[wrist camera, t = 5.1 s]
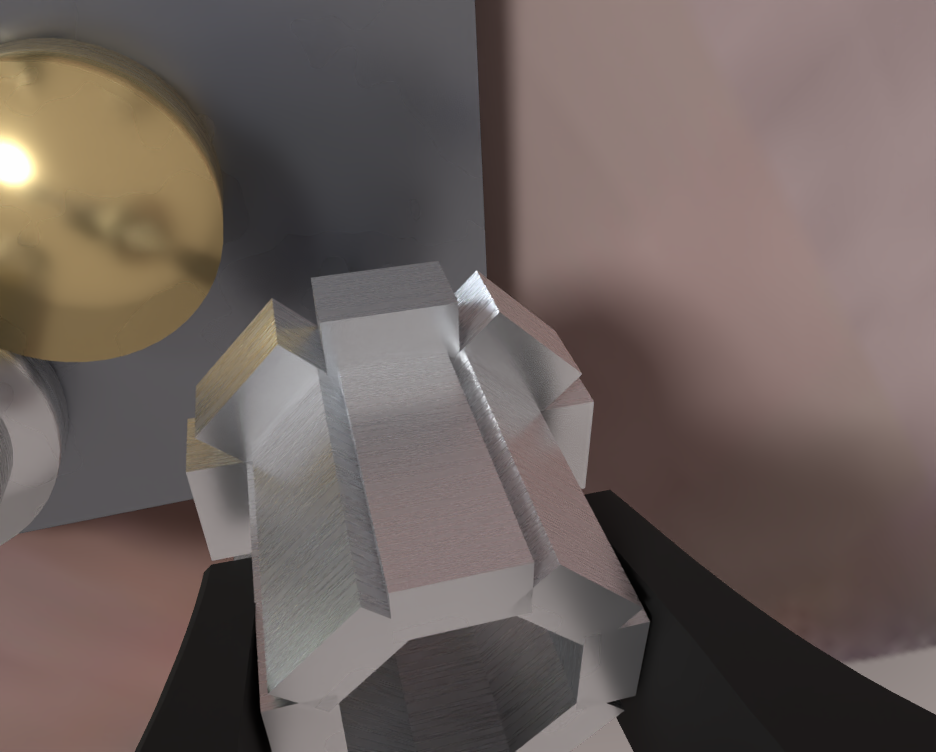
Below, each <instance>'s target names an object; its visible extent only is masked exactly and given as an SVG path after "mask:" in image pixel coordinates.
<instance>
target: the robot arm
mask: <svg viewBox="0 0 936 752" xmlns="http://www.w3.org/2000/svg"><path fill="white" fill-rule="evenodd" d="M584 496H585V498H586V499H587V501H588V503H589V505H590V507H591V509H592V511H593V513H594V515H595V517H596V519H597V520H598V522H599V524H600V526H601V528H602V530H603V532H604V534H605V536H606V538H607V539H608V541H609V543H610V545H611V547H612V549H613V551H614V553H615V555H616V557H617V558H618V560H619V562H620V564H621V566H622V568H623V570H624V572H625V574H626V576H627V578H628V579H629V581H630V583H631V585H632V587H633V589H634V591H635V593H636V595H637V597H638V598H639V600H640V602H641V604H642V606H643V609H644V611H645V613H646V615H647V617H648V619H649V620H650V625H649V630H648V635H647V640H646V645H645V650H644V655H643V660H642V665H641V671H640V676H639V681H638V686H637V691H636V696H632V697H628V698H624V699H620V701H621V703H622V706H623V708H624V710H625V711H623V712H622V713H621V714H619V715H618V716H617V719H618V722H619V724H620V726H621V728H622V730H623V731H624V734H625V735H626V738H627V739H628V741H629V743H630V745H631V747H632V749H633V751H634V752H936V715H935V714H933V713H931V712H929V711H928V710H926V709H923V708H922V707H920V706H918V705H916V704H914V703H912V702H910V701H908V700H906V699H905V698H903V697H900V696H899V695H897V694H895V693H893V692H891V691H889V690H888V689H886V688H884V687H882V686H881V685H879V684H877V683H875V682H873V681H871V680H870V679H868V678H866V677H864V676H863V675H861V674H859V673H857V672H856V671H854V670H853V669H851V668H849V667H848V666H846V665H844V664H843V663H841V662H840V661H838V660H836V659H835V658H833V657H831V656H830V655H828V654H826V653H825V652H823V651H821V650H820V649H818V648H816V647H815V646H813V645H812V644H810V643H809V642H807V641H805V640H804V639H802V638H801V637H799V636H798V635H796V634H795V633H793V632H792V631H790V630H789V629H787V628H786V627H784V626H783V625H781V624H780V623H779V622H777V621H776V620H774V619H773V618H771V617H770V616H769V615H767V614H766V613H764V612H763V611H761V610H760V609H758V608H757V607H756V606H754V605H753V604H752V603H750V602H749V601H747V600H746V599H745V598H743V597H742V596H741V595H739V594H738V593H737V592H735V591H734V590H733V589H731V588H730V587H729V586H727V585H726V584H725V583H724V582H722V581H721V580H720V579H718V578H717V577H716V576H715V575H713V574H712V573H711V572H709V571H708V570H707V569H706V568H704V567H703V566H702V565H700V564H699V563H698V562H697V561H695V560H694V559H693V558H692V557H690V556H689V555H688V554H687V553H685V552H684V551H683V550H682V549H681V548H679V547H678V546H677V545H676V544H674V543H673V542H672V541H671V540H670V539H668V538H667V537H666V536H665V535H664V534H662V533H661V532H660V531H659V530H658V529H656V528H655V527H654V526H653V525H652V524H650V523H649V522H648V521H647V520H646V519H645V518H643V517H642V516H641V515H640V514H639V513H637V512H636V511H635V510H634V509H633V508H631V507H630V506H629V505H628V504H627V503H626V502H624V501H623V500H622V499H621V498H619V497H618V496H617V495H616V494H615V493H613V492H612V491H611V490H607V491H602V492H596V493H591V494H586V495H584ZM255 608H256V603H255V602H254V584H253V566H252V557H250V558H245V559H240V560H234V561H229V562H224V563H218V564H213V565H211V566H210V567H209V568H208V569H207V570H206V571H205V572H204V575H203V579H202V583H201V587H200V590H199V594H198V597H197V600H196V604H195V607H194V610H193V613H192V616H191V619H190V622H189V625H188V628H187V631H186V633H185V636H184V639H183V641H182V644H181V647H180V650H179V652H178V655H177V657H176V660H175V662H174V665H173V667H172V670H171V672H170V674H169V677H168V679H167V682H166V684H165V686H164V689H163V691H162V694H161V696H160V698H159V701H158V703H157V706H156V708H155V710H154V712H153V715H152V717H151V719H150V721H149V723H148V725H147V727H146V729H145V731H144V734H143V736H142V738H141V740H140V742H139V744H138V746H137V748H136V750H135V752H272V750H271V746H270V743H269V739H268V736H267V732H266V729H265V725H264V722H263V719H262V715H261V709H260V691H259V674H258V656H257V638H256V620H255Z"/></svg>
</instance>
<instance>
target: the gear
mask: <svg viewBox="0 0 936 752" xmlns="http://www.w3.org/2000/svg"><path fill="white" fill-rule="evenodd" d="M311 283H312V290H313V297H314V304H315V311H316V318H317V325H318V326H317V325H315V324H313V323H312V322H310V321H308V320H307V319H305V318H304V317H302V316H300V315H299V314H297V313H296V312H294V311H292V310H291V309H289V308H287V307H286V306H284V305H283V304H281V303H279V302H278V301H276V300H275V299H273V298H271V300H270V301H269V302H268V303H267V304H266V305H265V307H264V308H263V309H262V310H261V311H260V312H259V313H258V315H257V316H256V317H255V318H254V319H253V320H252V322H251V323H250V324H249V325H248V326H247V327H246V329H245V330H244V331H243V332H242V333H241V334H240V336H239V337H238V338H237V339H236V340H235V341H234V342H233V344H232V345H231V346H230V347H229V348H228V349H227V351H226V352H225V353H224V354H223V355H222V356H221V358H220V359H219V360H218V361H217V362H216V363H215V365H214V366H213V367H212V368H211V369H210V370H209V371H208V373H207V374H206V375H205V376H204V377H203V378H202V380H201V381H200V382H199V383H198V384H197V385H196V403H195V418H190V419H188V422H187V452H186V475H187V478H188V481H189V485H190V488H191V491H192V495H193V498H194V502H195V505H196V508H197V512H198V515H199V519H200V522H201V525H202V529H203V532H204V535H205V539H206V542H207V546H208V549H209V552H210V556H211V559H212V561H213V560H219V559H224V558H229V557H234V560H240V559H245V558H250V557H252V566H253V584H254V602H255V603H256V608H255V620H256V638H257V656H258V674H259V691H260V709H261V715H262V719H263V722H264V725H265V729H266V732H267V736H268V739H269V743H270V746H271V750H272V752H571V751H573V750H574V749H575V748H576V747H578V746H579V745H580V744H582V743H583V742H584V741H586V740H587V739H588V738H589V737H591V736H592V735H593V734H595V733H596V732H597V731H599V730H600V729H601V728H602V727H604V726H605V725H606V724H608V723H609V722H610V721H612V720H613V719H614V718H615V717H617V716H618V715H619V714H621V713H622V712H623V711H625V710H624V708H623V706H622V703H621V701H620V699H624V698H628V697H632V696H636V691H637V686H638V681H639V676H640V671H641V665H642V660H643V655H644V650H645V645H646V640H647V635H648V630H649V625H650V620H649V619H648V617H647V615H646V613H645V611H644V609H643V606H642V604H641V602H640V600H639V598H638V597H637V595H636V593H635V591H634V589H633V587H632V585H631V583H630V581H629V579H628V578H627V576H626V574H625V572H624V570H623V568H622V566H621V564H620V562H619V560H618V558H617V557H616V555H615V553H614V551H613V549H612V547H611V545H610V543H609V541H608V539H607V538H606V536H605V534H604V532H603V530H602V528H601V526H600V524H599V522H598V520H597V519H596V517H595V515H594V513H593V511H592V509H591V507H590V505H589V503H588V501H587V499H586V498H585V496H584V494H583V492H582V490H581V489H583V488H585V484H586V475H587V465H588V455H589V446H590V436H591V427H592V417H593V407H594V401H593V399H592V397H591V396H590V394H589V393H588V391H587V389H586V388H585V386H584V385H583V383H582V381H581V380H580V378H579V377H580V376H581V375H582V373H581V371H580V370H579V368H578V366H577V365H576V363H575V362H574V360H573V358H572V357H571V355H570V354H569V352H568V350H567V349H566V347H565V346H564V344H563V342H562V341H561V339H560V338H559V336H558V335H557V333H556V331H555V330H553V329H552V328H551V327H549V326H548V325H547V324H546V323H544V322H543V321H542V320H540V319H539V318H538V317H537V316H535V315H534V314H533V313H531V312H530V311H529V310H528V309H526V308H525V307H524V306H522V305H521V304H520V303H518V302H517V301H516V300H515V299H513V298H512V297H511V296H509V295H508V294H507V293H506V292H504V291H503V290H502V289H500V288H499V287H498V286H496V285H495V284H494V283H493V282H491V281H490V280H489V279H487V278H486V277H485V276H484V275H482V274H481V273H480V272H478V271H477V270H476V271H475V272H474V273H473V274H472V276H471V277H470V278H469V279H468V280H467V281H466V282H465V283H464V284H463V285H462V286H461V287H460V288H459V289H458V290H457V291H456V292H455V293H454V292H453V290H452V288H451V286H450V284H449V282H448V280H447V278H446V276H445V274H444V272H443V269H442V267H441V265H440V263H439V261H434V262H426V263H419V264H411V265H404V266H396V267H388V268H381V269H373V270H366V271H358V272H351V273H343V274H335V275H328V276H320V277H313V278H311Z"/></svg>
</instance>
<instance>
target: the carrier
mask: <svg viewBox="0 0 936 752" xmlns="http://www.w3.org/2000/svg"><path fill="white" fill-rule="evenodd" d="M434 261H439V263H440V265H441V267H442V269H443V272H444V274H445V276H446V278H447V280H448V282H449V284H450V286H451V288H452V290H453V292H454V293H455V292H456V291H457V290H458V289H459V288H460V287H461V286H462V285H463V284H464V283H465V282H466V281H467V280H468V279H469V278H470V277H471V276H472V274H473V273H474V272H475V271H476V270H477V271H478V272H480V273H481V274H482V275H484V276H485V277H486V278H487V268H486V245H485V223H484V200H483V177H482V154H481V131H480V108H479V85H478V63H477V40H476V17H475V0H0V349H3V350H6V351H9V352H13V353H16V354H19V355H22V356H27V357H32V358H37V359H42V360H47V361H48V362H49V364H50V365H51V367H52V368H53V370H54V371H55V373H56V375H57V378H58V380H59V382H60V384H61V386H62V389H63V392H64V396H65V399H66V402H67V410H68V418H69V420H68V435H67V440H66V444H65V449H64V452H63V456H62V460H61V463H60V467H59V471H58V474H57V478H56V482H55V485H54V487H53V489H52V492H51V494H50V497H49V499H48V500H47V502H46V503H45V505H44V507H43V508H42V510H41V511H40V513H39V514H38V515H37V516H36V517H35V518H34V519H33V521H32V522H31V523H30V524H29V525H28V526H27V527H25V528H24V529H23V530H22V531H21V532H20V533H24V532H29V531H34V530H39V529H44V528H49V527H54V526H59V525H64V524H69V523H74V522H79V521H85V520H90V519H95V518H100V517H105V516H110V515H115V514H120V513H125V512H130V511H135V510H140V509H145V508H150V507H155V506H160V505H165V504H170V503H175V502H180V501H185V500H190V499H194V498H193V495H192V491H191V488H190V485H189V481H188V478H187V475H186V452H187V422H188V419H190V418H195V403H196V385H197V384H198V383H199V382H200V381H201V380H202V378H203V377H204V376H205V375H206V374H207V373H208V371H209V370H210V369H211V368H212V367H213V366H214V365H215V363H216V362H217V361H218V360H219V359H220V358H221V356H222V355H223V354H224V353H225V352H226V351H227V349H228V348H229V347H230V346H231V345H232V344H233V342H234V341H235V340H236V339H237V338H238V337H239V336H240V334H241V333H242V332H243V331H244V330H245V329H246V327H247V326H248V325H249V324H250V323H251V322H252V320H253V319H254V318H255V317H256V316H257V315H258V313H259V312H260V311H261V310H262V309H263V308H264V307H265V305H266V304H267V303H268V302H269V301H270V300H271V298H273V299H275V300H276V301H278V302H279V303H281V304H283V305H284V306H286V307H287V308H289V309H291V310H292V311H294V312H296V313H297V314H299V315H300V316H302V317H304V318H305V319H307V320H308V321H310V322H312V323H313V324H315V325H317V318H316V311H315V304H314V297H313V290H312V283H311V278H313V277H320V276H328V275H335V274H343V273H351V272H358V271H366V270H373V269H381V268H388V267H396V266H404V265H411V264H419V263H426V262H434ZM317 326H318V325H317ZM18 534H19V533H18Z"/></svg>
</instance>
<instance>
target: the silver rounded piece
mask: <svg viewBox="0 0 936 752" xmlns="http://www.w3.org/2000/svg"><path fill="white" fill-rule="evenodd" d="M68 420H69V418H68V410H67V402H66V399H65V396H64V392H63V389H62V386H61V384H60V382H59V380H58V378H57V375H56V373H55V371H54V370H53V368H52V367H51V365H50V364H49V362H48V361H47V360H42V359H37V358H32V357H27V356H22V355H19V354H16V353H13V352H9V351H6V350H3V349H0V546H1V545H2V544H4V543H5V542H7V541H8V540H10V539H11V538H13V537H15V536H16V535H17V534H18V533H20V532H21V531H22V530H23V529H24V528H25V527H27V526H28V525H29V524H30V523H31V522H32V521H33V519H34V518H35V517H36V516H37V515H38V514H39V513H40V511H41V510H42V508H43V507H44V505H45V503H46V502H47V500H48V499H49V497H50V494H51V492H52V489H53V487H54V485H55V482H56V478H57V474H58V471H59V467H60V463H61V460H62V456H63V452H64V449H65V444H66V440H67V435H68Z"/></svg>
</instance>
